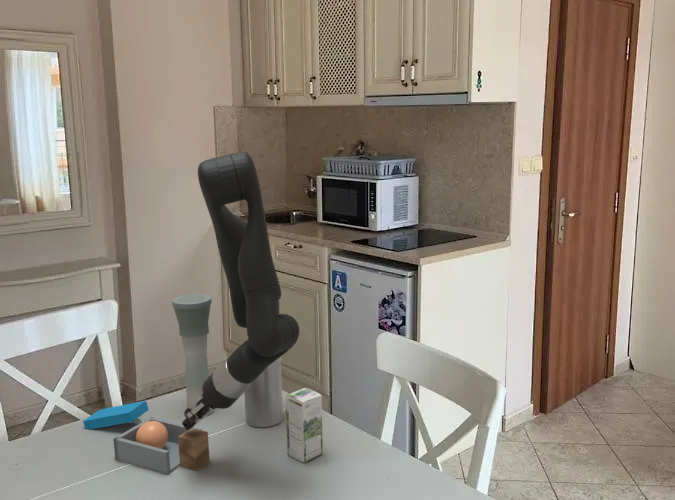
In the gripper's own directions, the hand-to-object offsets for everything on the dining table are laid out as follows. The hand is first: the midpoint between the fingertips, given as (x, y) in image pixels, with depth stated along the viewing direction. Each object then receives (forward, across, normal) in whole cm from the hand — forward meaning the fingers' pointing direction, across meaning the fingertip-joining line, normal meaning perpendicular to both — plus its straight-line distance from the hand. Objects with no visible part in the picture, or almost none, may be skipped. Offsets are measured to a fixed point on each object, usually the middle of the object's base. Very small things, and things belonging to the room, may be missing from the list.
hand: (186, 425), depth 147 cm
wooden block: (+5, 0, +7) cm, 9 cm away
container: (+16, -22, -4) cm, 27 cm away
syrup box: (-9, -14, +22) cm, 27 cm away
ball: (+10, 0, -4) cm, 11 cm away
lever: (+25, -7, -12) cm, 28 cm away
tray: (+12, 0, 0) cm, 12 cm away
